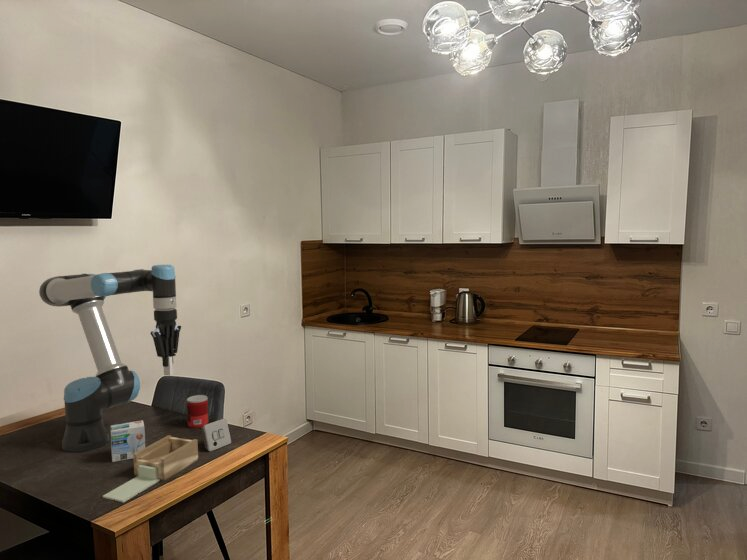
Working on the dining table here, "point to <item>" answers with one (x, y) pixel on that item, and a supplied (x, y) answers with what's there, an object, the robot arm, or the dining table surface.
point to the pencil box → (167, 456)
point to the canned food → (197, 411)
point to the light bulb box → (127, 440)
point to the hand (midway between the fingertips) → (168, 374)
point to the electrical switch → (216, 434)
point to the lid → (134, 484)
